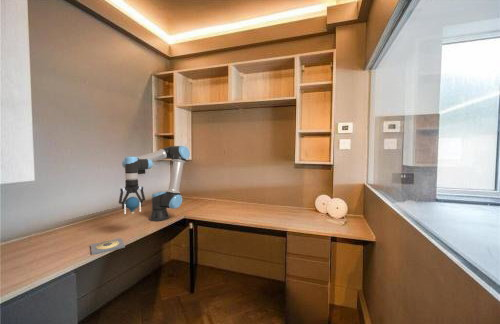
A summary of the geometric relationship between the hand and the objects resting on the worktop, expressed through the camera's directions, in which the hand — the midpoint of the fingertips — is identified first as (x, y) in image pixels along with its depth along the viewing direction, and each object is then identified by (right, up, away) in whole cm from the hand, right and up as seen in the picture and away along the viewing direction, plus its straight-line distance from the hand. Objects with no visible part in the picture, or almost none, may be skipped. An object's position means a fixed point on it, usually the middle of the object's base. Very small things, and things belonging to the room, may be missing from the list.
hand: (132, 212), depth 145 cm
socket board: (-6, -17, -16) cm, 24 cm away
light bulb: (0, -2, 0) cm, 2 cm away
